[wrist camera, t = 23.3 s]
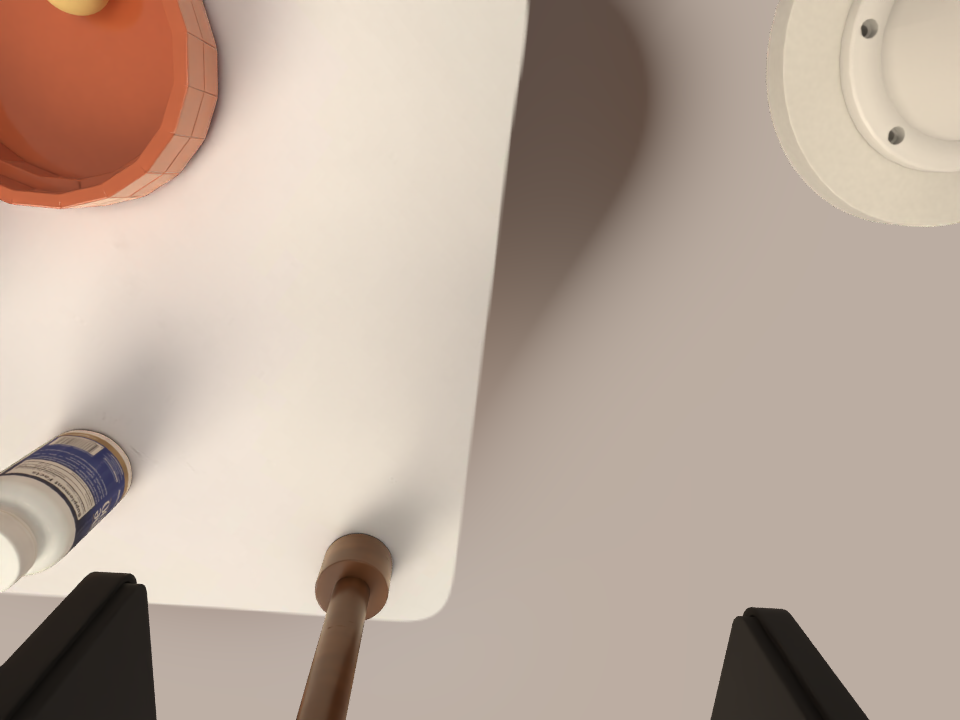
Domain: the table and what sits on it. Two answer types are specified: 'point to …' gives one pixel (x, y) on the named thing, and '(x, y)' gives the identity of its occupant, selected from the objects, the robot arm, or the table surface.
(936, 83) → the robot arm
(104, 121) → the bowl
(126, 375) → the table surface
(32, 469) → the pill bottle
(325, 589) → the wooden pestle
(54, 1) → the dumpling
